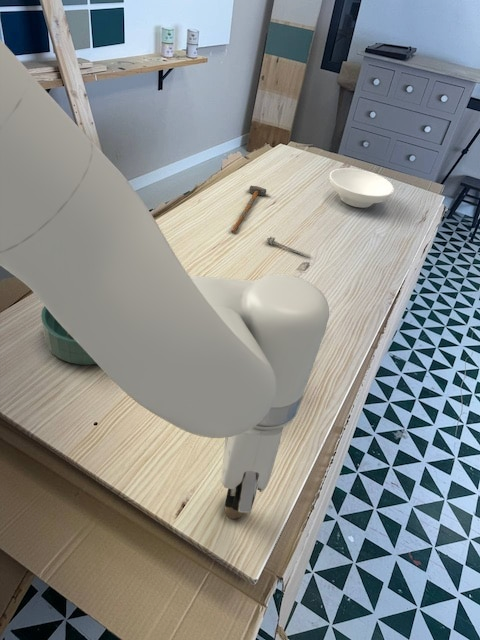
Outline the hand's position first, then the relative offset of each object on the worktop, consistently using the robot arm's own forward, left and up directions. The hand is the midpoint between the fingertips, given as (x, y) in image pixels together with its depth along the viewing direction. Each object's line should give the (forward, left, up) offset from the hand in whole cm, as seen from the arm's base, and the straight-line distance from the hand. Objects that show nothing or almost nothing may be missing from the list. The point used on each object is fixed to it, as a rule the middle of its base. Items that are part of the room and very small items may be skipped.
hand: (239, 487), depth 58 cm
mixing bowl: (+1, +40, -6) cm, 40 cm away
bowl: (+95, +52, -6) cm, 108 cm away
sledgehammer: (+59, +63, -6) cm, 87 cm away
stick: (0, 0, -6) cm, 6 cm away
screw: (+55, +43, -6) cm, 70 cm away
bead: (-2, +41, -4) cm, 41 cm away
